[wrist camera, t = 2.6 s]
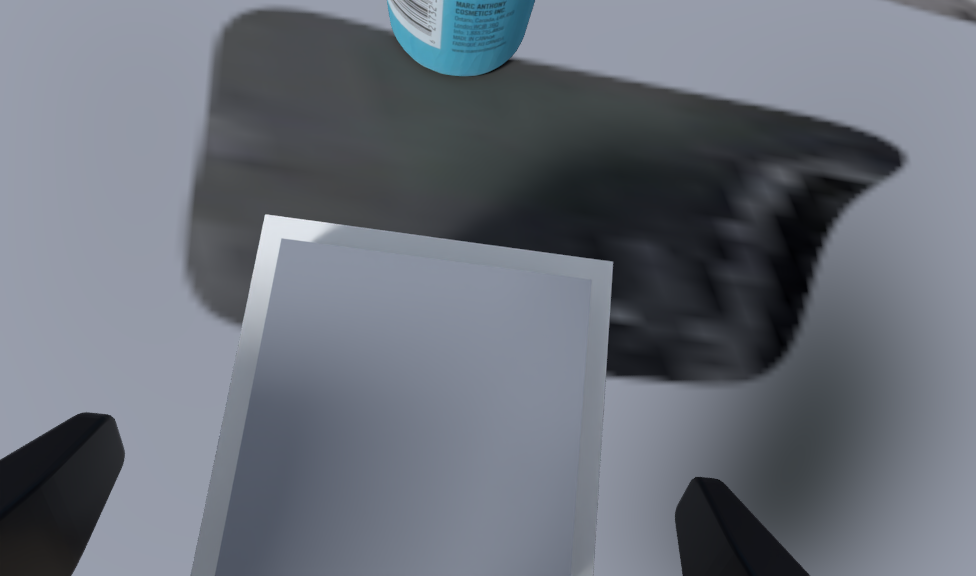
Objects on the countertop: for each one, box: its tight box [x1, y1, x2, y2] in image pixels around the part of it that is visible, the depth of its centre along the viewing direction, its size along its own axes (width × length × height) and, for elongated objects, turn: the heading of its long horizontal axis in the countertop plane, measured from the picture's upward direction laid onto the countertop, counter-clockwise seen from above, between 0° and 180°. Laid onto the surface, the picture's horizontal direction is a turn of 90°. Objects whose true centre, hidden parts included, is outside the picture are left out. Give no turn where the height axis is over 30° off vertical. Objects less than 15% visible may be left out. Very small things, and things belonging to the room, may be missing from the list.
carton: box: [191, 215, 613, 576], centre depth 12 cm, size 6×6×10 cm
